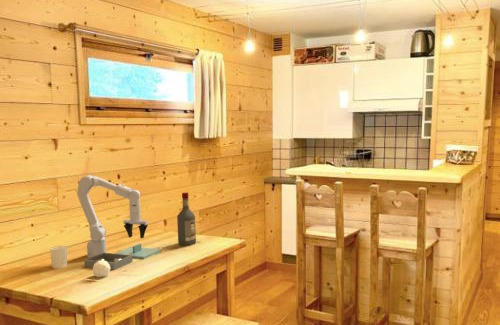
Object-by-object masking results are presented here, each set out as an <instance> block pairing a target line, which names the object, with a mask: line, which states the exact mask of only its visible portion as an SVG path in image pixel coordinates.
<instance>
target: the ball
mask: <svg viewBox="0 0 500 325" xmlns="http://www.w3.org/2000/svg"><path fill="white" fill-rule="evenodd" d="M110 271H111V270H110V265H109V264H108V263H107V261H103V260H101V261H98V262H96V263H95V264H94V266H93V268H92V273H93V275H94V276H95V277H96V278H104V277H107V276H108V275H109V274H110V273H111V272H110Z"/></svg>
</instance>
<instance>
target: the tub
mask: <svg viewBox="0 0 500 325" xmlns="http://www.w3.org/2000/svg"><path fill="white" fill-rule="evenodd" d="M102 258H103V259H105V261H107V263H108V264H109V265H110V271H115V270H118V269H120V268H122V267H124V266H127V265H130V264H131V263H133V258H132V255H123V254H115V253H109V252H106V253H101V254H99V255H96V256H94V257H87V258H86V259H83V260H84V268H89V269H90V268H92V269H93V266H94V264H95V263H96V262H98V261H97V259H102ZM115 258H121V260H119V261H116V262H114V259H115Z"/></svg>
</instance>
